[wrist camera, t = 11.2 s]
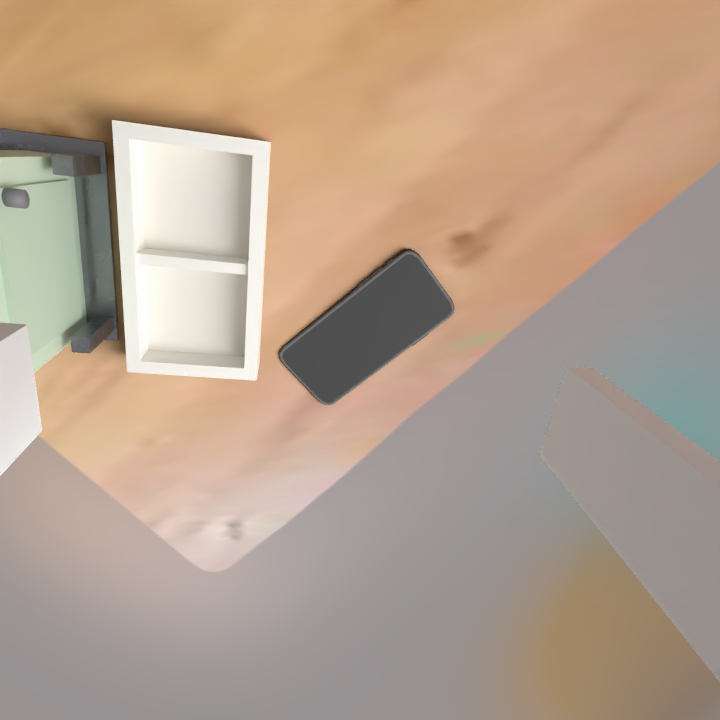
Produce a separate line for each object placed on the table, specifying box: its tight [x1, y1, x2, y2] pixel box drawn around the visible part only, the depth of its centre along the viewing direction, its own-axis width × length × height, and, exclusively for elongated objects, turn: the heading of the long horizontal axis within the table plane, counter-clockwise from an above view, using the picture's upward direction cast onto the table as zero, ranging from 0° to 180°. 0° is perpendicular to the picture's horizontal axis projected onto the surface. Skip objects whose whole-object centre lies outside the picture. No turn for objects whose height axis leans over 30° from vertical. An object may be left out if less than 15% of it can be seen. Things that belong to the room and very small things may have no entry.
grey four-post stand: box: [0, 129, 119, 353], centre depth 34 cm, size 15×7×5 cm, turn 173°
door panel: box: [0, 150, 87, 373], centre depth 31 cm, size 13×4×12 cm, turn 173°
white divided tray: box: [112, 120, 271, 380], centre depth 37 cm, size 18×10×3 cm, turn 173°
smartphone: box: [279, 249, 454, 405], centre depth 42 cm, size 7×1×15 cm
